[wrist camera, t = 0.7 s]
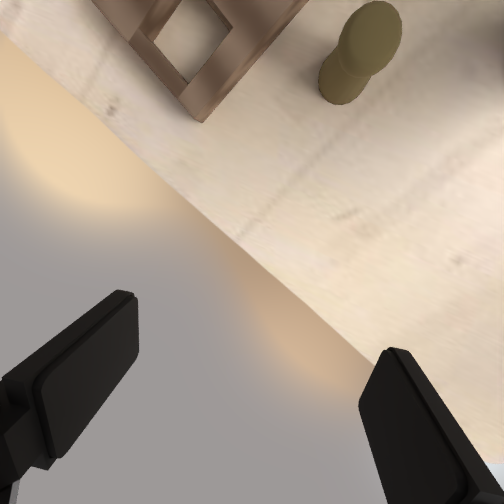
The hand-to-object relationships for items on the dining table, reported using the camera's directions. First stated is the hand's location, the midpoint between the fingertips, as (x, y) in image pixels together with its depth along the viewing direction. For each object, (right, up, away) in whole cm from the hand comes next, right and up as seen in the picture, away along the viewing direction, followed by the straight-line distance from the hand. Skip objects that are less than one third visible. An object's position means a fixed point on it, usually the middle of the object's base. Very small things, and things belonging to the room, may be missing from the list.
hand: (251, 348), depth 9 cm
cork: (+11, +26, +21) cm, 35 cm away
